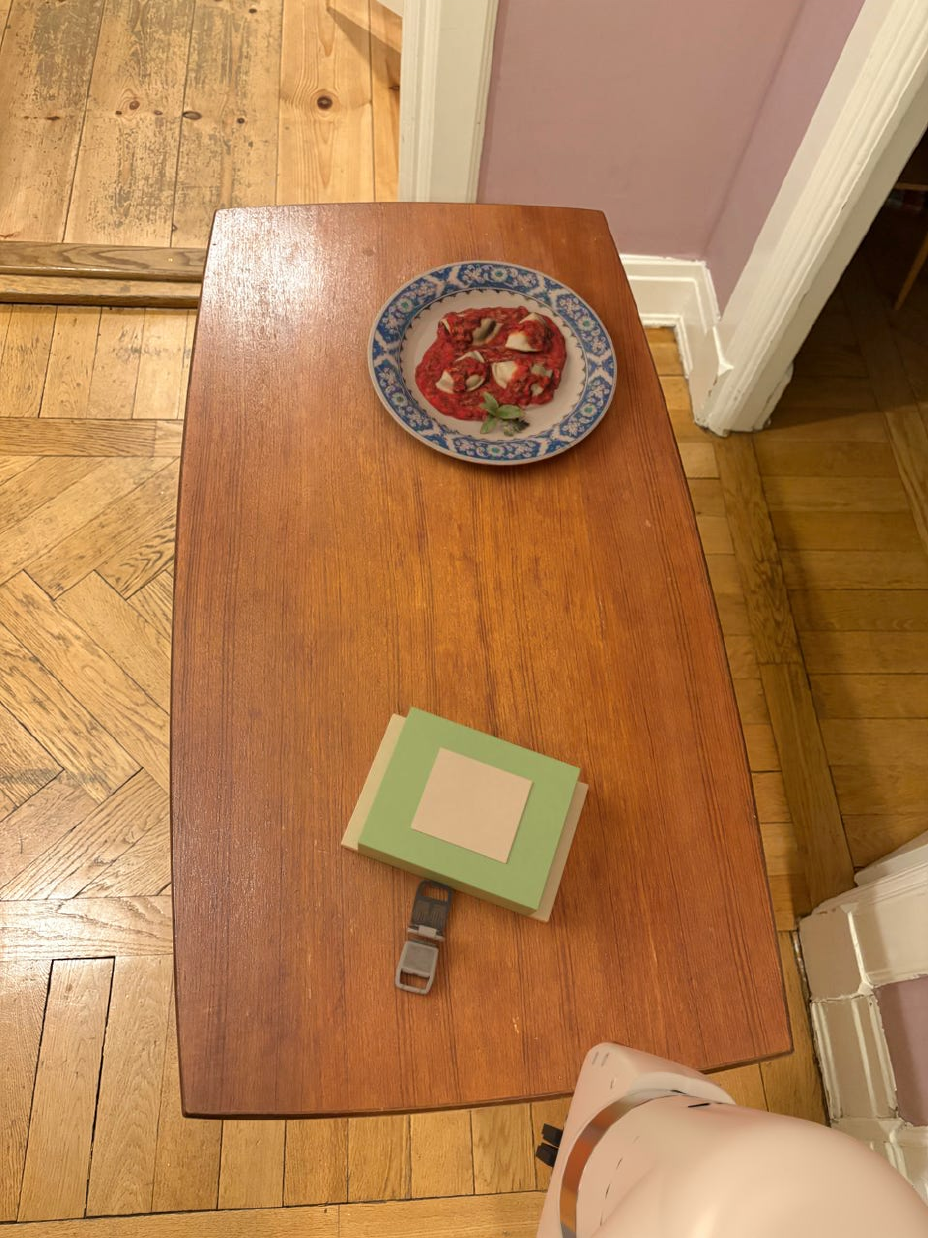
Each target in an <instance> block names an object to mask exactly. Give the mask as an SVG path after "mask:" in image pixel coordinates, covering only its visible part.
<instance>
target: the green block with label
mask: <svg viewBox="0 0 928 1238" xmlns="http://www.w3.org/2000/svg"><path fill="white" fill-rule="evenodd" d="M581 771H582V768H580V767H578V766H576V765H573V764H569V763H567V762H564V761H561V760H559V759H556V758H554V757H551V756H548V755H545V754H542V753H540V752H537V751H534V750H532V749H529V748H525V747H523V746H520V745H518V744H515V743H513V742H510V741H507V740H504V739H502V738H499V737H496V736H494V735H491V734H488V733H485V732H483V731H479V730H477V729H474V728H472V727H469V726H466V725H463V724H461V723H458V722H456V721H453V720H450V719H447V718H444V717H443V716H439V715H437V714H434V713H432V712H428V711H425V710H423V709H420V708H417V707H415V706H410V708H409V711H408V713H407V715H406V716H402V715H401V714H397V713H395V712H393V713H392V715H391V717H390V719H389V721H388V725H387V727H386V730H385V732H384V735H383V737H382V740H381V742H380V744H379V747H378V749H377V751H376V755H375V756H374V759H373V762H372V764H371V767H370V769H369V772H368V774H367V777H366V779H365V782H364V784H363V787H362V789H361V791H360V794H359V796H358V799H357V801H356V804H355V806H354V809H353V812H352V814H351V817H350V818H349V822H348V824H347V825H346V826H347V827H346V829H345V831H344V833H343V836H342V838H341V841H340V847H342V848H344V849H347V850H349V851H352V852H354V853H356V854H357V853H358V854H359V855H363V856H365V857H367V858H370V859H373V860H375V861H379V862H380V863H384V864H386V865H389V866H392V867H394V868H397V869H400V870H402V871H404V872H407V873H410V874H412V875H416V876H418V877H421V878H423V879H425V880H428V881H430V882H433V883H437V884H441V885H446V886H449V887H451V889H452V890H456V891H458V892H461V893H463V894H466V895H468V896H471V897H474V898H476V899H478V900H482V901H484V902H487V903H490V904H493V905H495V906H498V907H500V908H503V909H505V910H508V911H511V912H514V913H516V914H518V915H522V916H524V917H527V918H530V919H532V920H535V921H538V922H540V923H543V924H547V923H549V920H550V917H551V913H552V910H553V908H554V904H555V901H556V897H557V894H558V891H559V887H560V884H561V881H562V877H563V874H564V870H565V866H566V864H567V860H568V857H569V854H570V852H571V851H570V850H571V847H572V844H573V840H574V837H575V834H576V830H577V827H578V824H579V820H580V816H581V815H582V814H581V813H582V811H583V807H584V803H585V801H586V797H587V793H588V790H589V786H590V785H589V784H588V783H585V782H583V781H579V777H580V774H581Z"/></svg>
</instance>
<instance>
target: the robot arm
mask: <svg viewBox="0 0 928 1238" xmlns="http://www.w3.org/2000/svg"><path fill="white" fill-rule="evenodd" d="M540 1134H541V1135H542V1140H544V1141H545V1142H543V1141H541V1143H540V1145H539V1144H538V1145H537V1147H536V1151H535V1155H534V1156H535V1157H536V1158H537V1159H538V1160H540V1161H541V1162H542V1163H544V1164H545V1165H546V1166H548V1167H550V1168H551V1171H550V1175H549V1179H548V1184H547V1191H546V1192H547V1193H546V1197H545V1200H544V1204H543V1208H542V1210H541V1211H542V1212H541V1215H540V1219H539V1220H540V1221H539V1224H538V1228H537V1231H536V1235H535V1238H928V1205H927V1204H926V1202H925V1201H924V1199H923V1198H922V1196H921V1195H920V1193H919V1192H918V1191H917V1189H916V1188H915V1187H914V1186H913V1185H912V1184H911V1182H909V1180H908V1179H907V1178H905V1176H904V1175H903V1174H902V1173H901V1172H900V1171H899V1170H898V1169H897V1168H896V1166H895V1165H893V1164H891V1162H889V1161H888V1160H887V1159H886V1158H884V1157H883V1156H882V1155H881V1154H880V1153H878V1152H877V1151H876V1150H874V1149H873V1148H871V1147H870V1146H869V1145H868V1144H866V1143H864V1142H863V1141H860V1140H858V1139H857V1138H855V1137H854V1136H851V1135H849V1134H847V1133H845V1132H843V1131H840V1130H838V1129H836V1128H833V1127H829V1126H827V1125H824V1124H821V1123H819V1122H815V1121H811V1120H808V1119H804V1118H800V1117H795V1116H790V1115H785V1114H780V1113H776V1112H771V1111H766V1110H762V1109H758V1108H753V1107H748V1106H743V1105H739V1104H737V1102H736V1101H735V1099H734V1098H733V1097H732V1096H731V1094H729V1093H728V1091H726V1089H725V1088H723V1087H722V1086H721V1085H720V1084H719V1083H718V1082H716V1081H715V1080H714V1079H712V1078H710V1076H708V1075H706V1074H704V1073H703V1072H701V1071H699V1070H696V1069H694V1068H692V1067H690V1066H688V1065H685V1064H683V1063H680V1062H676V1061H673V1060H670V1059H667V1058H666V1057H662V1056H659V1055H656V1054H654V1053H650V1052H647V1051H644V1050H640V1049H636V1048H635V1047H633V1046H630V1045H626V1044H623V1043H621V1042H619V1041H616V1040H613V1041H612V1042H609V1041H604V1042H599V1043H598V1044H596V1045H594V1046H593V1047H592V1048H591V1049H589V1050H588V1051H587V1053H586V1056H585V1058H584V1060H583V1063H582V1066H581V1069H580V1072H579V1075H578V1077H577V1082H576V1084H575V1089H574V1093H573V1096H572V1099H571V1104H570V1107H569V1111H568V1113H567V1115H566V1116H565V1119H564V1123H563V1126H562V1129H561V1128H558V1127H556V1126H553V1125H551V1124H548V1123H543V1125H542V1129H541V1133H540ZM546 1142H547V1143H546ZM548 1143H549V1144H548Z"/></svg>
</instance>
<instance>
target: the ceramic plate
mask: <svg viewBox="0 0 928 1238" xmlns="http://www.w3.org/2000/svg"><path fill="white" fill-rule="evenodd" d="M366 351H367V352H366V357H367V366H368V370H369V376H370V379H371V382H372V386H373V388H374V390H375V393H376V395H377V397H378V398H379V400H380V402H381V403H382V405H383V407H384V409H385V411H387V413H388V414H389V415H390V416H391V418H393V420H394V421H395V422H396V423H397V424H398V425H399V426H400V427H402V429H404V430H405V432H407V433H408V434H409V435H411V436H412V437H413V438H415V439H416V440H418V441H419V442H421V443H423V444H424V445H426V446H427V447H429V448H431V449H433V450H434V451H437V452H439V453H442V454H444V455H447V456H449V457H452V458H455V459H458V460H461V461H465V462H470V463H474V464H479V465H480V464H481V465H489V466H516V465H525V464H530V463H536V462H539V461H542V460H546V459H550V458H552V457H554V456H557V455H559V454H561V453H564V452H566V451H568V450H570V448H572V447H574V446H575V445H577V444H579V443H580V442H581V441H583V440H584V439H585V438H586V437H588V436H589V434H591V432H593V430H594V429H595V428H596V427H597V426H598V425H599V423H600V422H601V421H602V419H603V418H604V416H605V414H606V413H607V411H608V409H609V407H610V405H611V403H612V401H613V398H614V394H615V392H616V387H617V374H618V365H617V358H616V357H617V356H616V351H615V348H614V344H613V342H612V338H611V336H610V334H609V332H608V330H607V328H606V326H605V324H604V323H603V321H602V319H601V318H600V317H599V315H598V314H597V312H596V311H595V310H594V309H593V308H592V306H590V304H589V303H587V301H586V300H585V299H584V298H583V297H582V296H580V295H579V294H578V293H577V292H575V291H574V290H573V289H572V288H570V287H569V286H567V285H566V284H564V283H563V282H561V281H559V280H557V278H554V277H552V276H550V275H548V274H547V273H544V272H543V271H540V270H537V269H533V268H531V267H527V266H523V265H520V264H516V263H512V262H506V261H499V260H488V259H487V260H486V259H485V260H484V259H483V260H481V259H480V260H478V259H477V260H475V259H474V260H464V261H458V262H457V261H456V262H452V263H446V264H443V265H440V266H437V267H433V268H431V269H428V270H426V271H424V272H422V273H419V274H418V275H416V276H414V277H412V278H411V279H409V280H408V281H406V282H405V283H403V284H402V285H401V286H400V287H399V288H398V289H396V290H394V292H393V293H392V294H391V295H390V296H389V297H388V298H387V299H386V301H385V302H384V303H383V305H381V307H380V309H379V311H378V312H377V314H376V315H375V318H374V320H373V323H372V325H371V329H370V331H369V336H368V341H367V349H366Z"/></svg>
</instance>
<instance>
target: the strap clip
mask: <svg viewBox="0 0 928 1238" xmlns="http://www.w3.org/2000/svg"><path fill="white" fill-rule="evenodd" d="M424 886H427V887H432V888H436V889H439V890H444V891H445V892H447V899H446V901H445V900H441V899H437V898H433V897H429V896H426V895H421V892H422V890H423V888H424ZM413 899H414V900H413V905H412V909H411V910H412V911H411V915H410V921H409V922H410V924H409V925H408V926H407V929H406V933H407V934H411V935H415V936H418V937H422V938H423V937H424V938H427V939H429V940H430V939H431V940H435V941H437V942H438V941H439V942H442V943H444V942H445V940H446V934H444V933H442V932H443V931H444V930H445V926H446V923H447V919H448V915H449V913H450V910H451V906H452V902H453V901H452V900H453V888H451V887H449V886H446V885H442V884H439V883H437V882H434V881H431V880H427V879H425V880H421V881H420V883H419V885H418V887H417V889H416V892H415V894H414V898H413ZM438 957H439V948H438V946H437V944H436V943H432V942H429V941H425V940H422V939H417V938H413V937H410V938H408V940H406V941H405V942H404V944H403V948H402V950H401V953H400V957H399V961H398V964H397V967H396V969H395V979H394V984H395V987H396V988H398V989H400V990H402V991H405V992H410V993H414V994H417V995H427V994H428V993H429V992H430V990H431V988H432V985H433V984H434V983H433V982H434V980H435V974H436V968H437V963H438ZM401 973H406V974H410V975H413V976H417V977H420V978H425V979H428V981H427V983H426V986H425V989H424V988H423V989H422V988H418V987H414V986H410V985H406V984H403V983H401V982H400V981H401V980H400V979H401Z"/></svg>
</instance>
